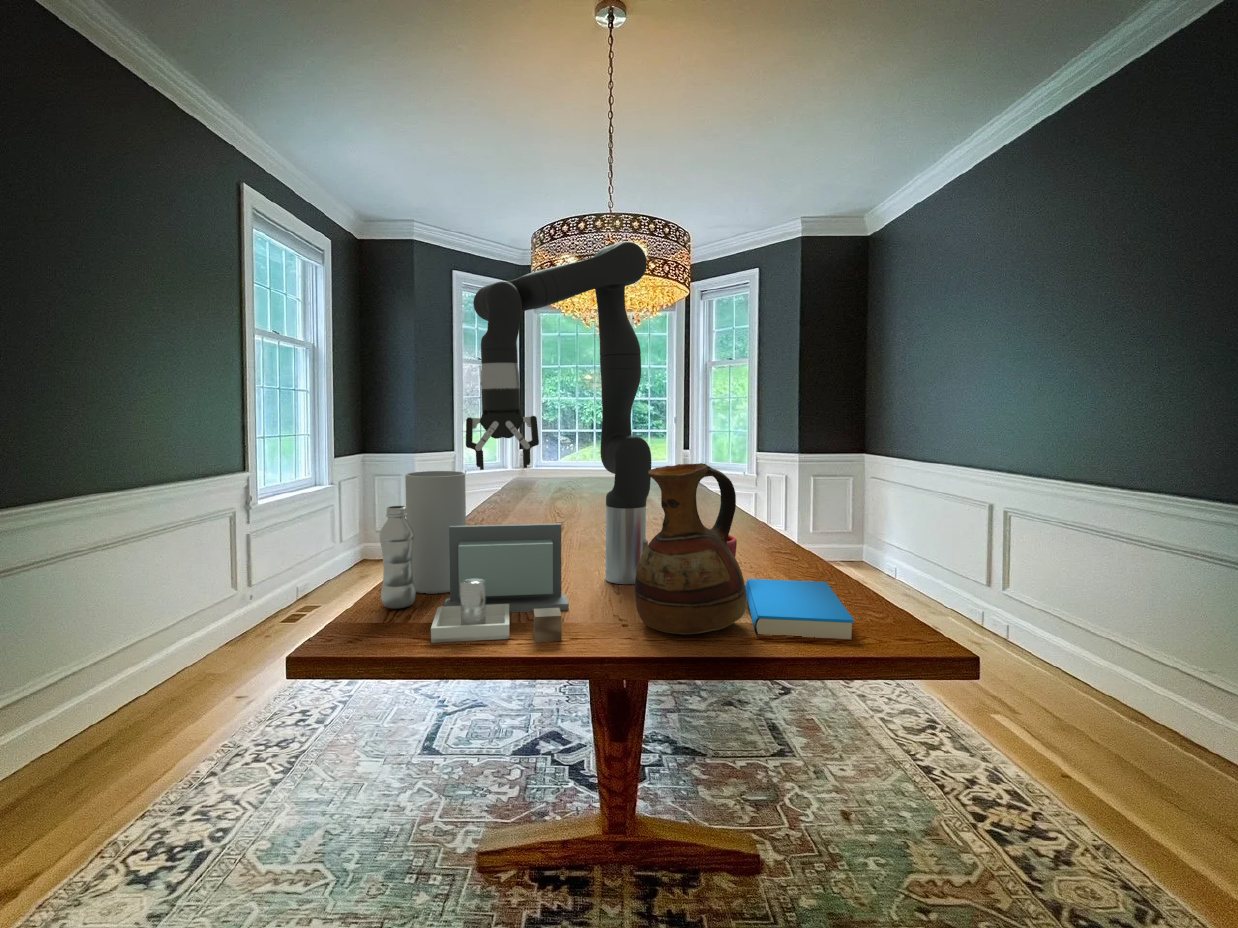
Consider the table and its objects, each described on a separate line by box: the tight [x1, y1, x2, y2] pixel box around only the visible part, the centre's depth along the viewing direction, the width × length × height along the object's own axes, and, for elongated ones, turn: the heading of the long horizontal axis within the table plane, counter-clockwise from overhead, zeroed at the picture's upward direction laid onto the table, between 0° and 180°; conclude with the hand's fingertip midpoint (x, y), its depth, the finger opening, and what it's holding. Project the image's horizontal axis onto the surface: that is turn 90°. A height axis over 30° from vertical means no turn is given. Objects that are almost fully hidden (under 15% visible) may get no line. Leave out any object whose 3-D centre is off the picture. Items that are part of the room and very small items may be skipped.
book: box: [744, 578, 855, 640], centre depth 127 cm, size 17×4×25 cm
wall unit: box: [442, 522, 570, 613], centre depth 130 cm, size 24×7×16 cm, turn 100°
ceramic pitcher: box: [634, 462, 747, 635], centre depth 119 cm, size 20×20×30 cm
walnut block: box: [533, 608, 563, 643], centre depth 113 cm, size 4×4×4 cm
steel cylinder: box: [460, 579, 486, 625], centre depth 117 cm, size 4×4×8 cm
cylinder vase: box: [404, 470, 467, 595], centre depth 143 cm, size 12×12×25 cm
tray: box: [430, 604, 510, 644], centre depth 117 cm, size 13×12×2 cm
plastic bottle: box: [379, 505, 417, 610], centre depth 129 cm, size 6×7×20 cm
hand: (503, 468), depth 131 cm, fingers open, 8 cm apart
